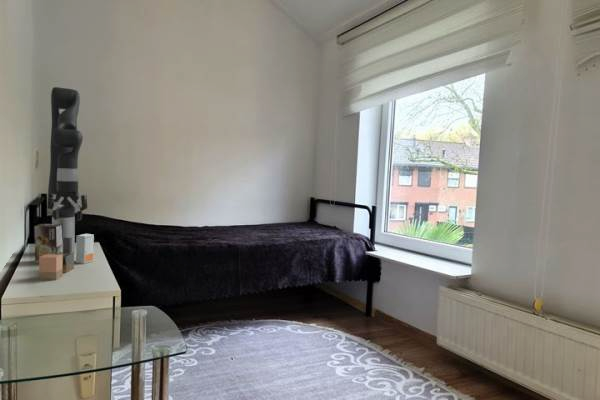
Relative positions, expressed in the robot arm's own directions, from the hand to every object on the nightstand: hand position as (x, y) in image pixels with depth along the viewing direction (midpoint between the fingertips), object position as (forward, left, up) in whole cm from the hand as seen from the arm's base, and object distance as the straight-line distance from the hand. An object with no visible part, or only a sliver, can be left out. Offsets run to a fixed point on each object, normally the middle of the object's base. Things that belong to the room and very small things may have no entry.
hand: (67, 220), depth 175 cm
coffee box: (-13, -9, -20) cm, 25 cm away
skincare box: (-11, +5, -20) cm, 24 cm away
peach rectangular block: (+14, -4, -20) cm, 24 cm away
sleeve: (+3, -1, -20) cm, 20 cm away
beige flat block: (+3, -1, -16) cm, 16 cm away
